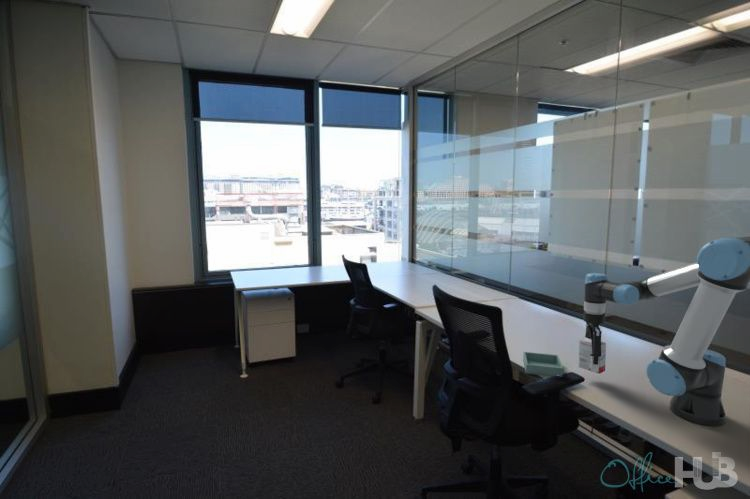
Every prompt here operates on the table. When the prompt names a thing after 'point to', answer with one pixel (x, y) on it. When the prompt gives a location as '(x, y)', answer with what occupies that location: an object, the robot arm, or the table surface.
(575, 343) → the table surface
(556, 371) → the bin
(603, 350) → the ink box
